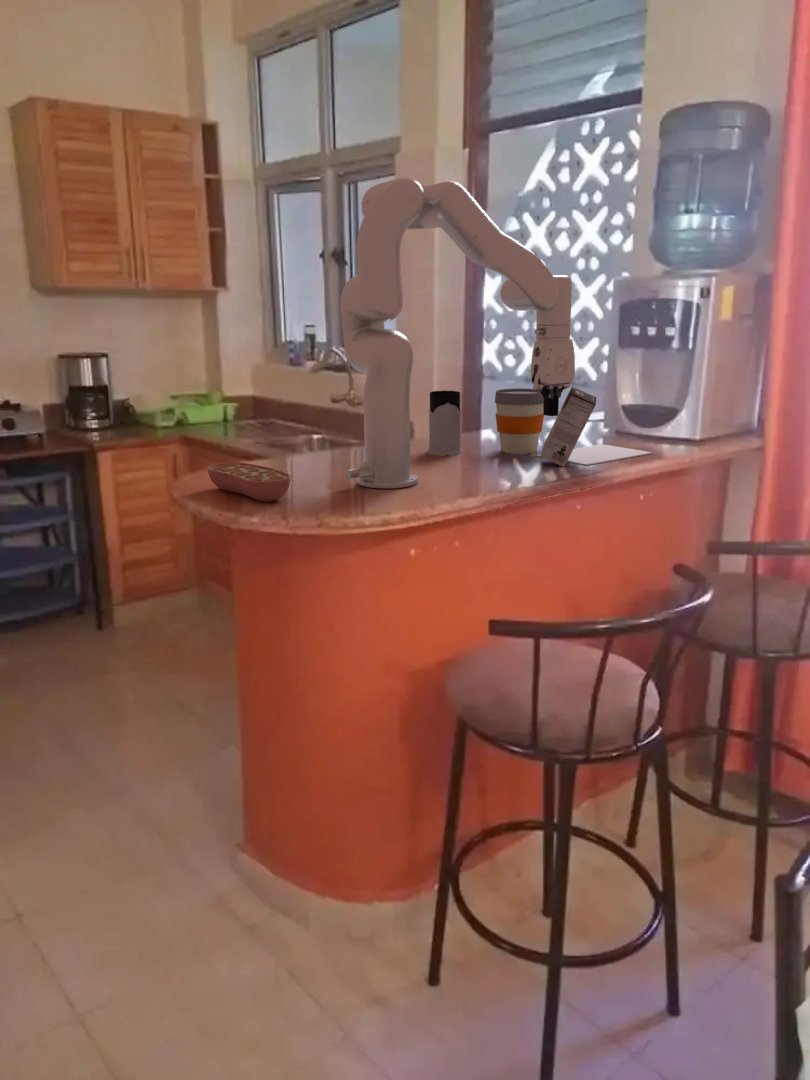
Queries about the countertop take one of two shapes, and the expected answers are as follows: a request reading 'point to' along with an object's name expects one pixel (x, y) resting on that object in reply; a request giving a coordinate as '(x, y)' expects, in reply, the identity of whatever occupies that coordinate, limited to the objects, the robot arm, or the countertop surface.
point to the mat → (601, 454)
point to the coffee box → (568, 426)
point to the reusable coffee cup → (519, 419)
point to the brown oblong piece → (250, 480)
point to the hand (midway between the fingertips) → (550, 415)
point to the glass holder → (444, 423)
